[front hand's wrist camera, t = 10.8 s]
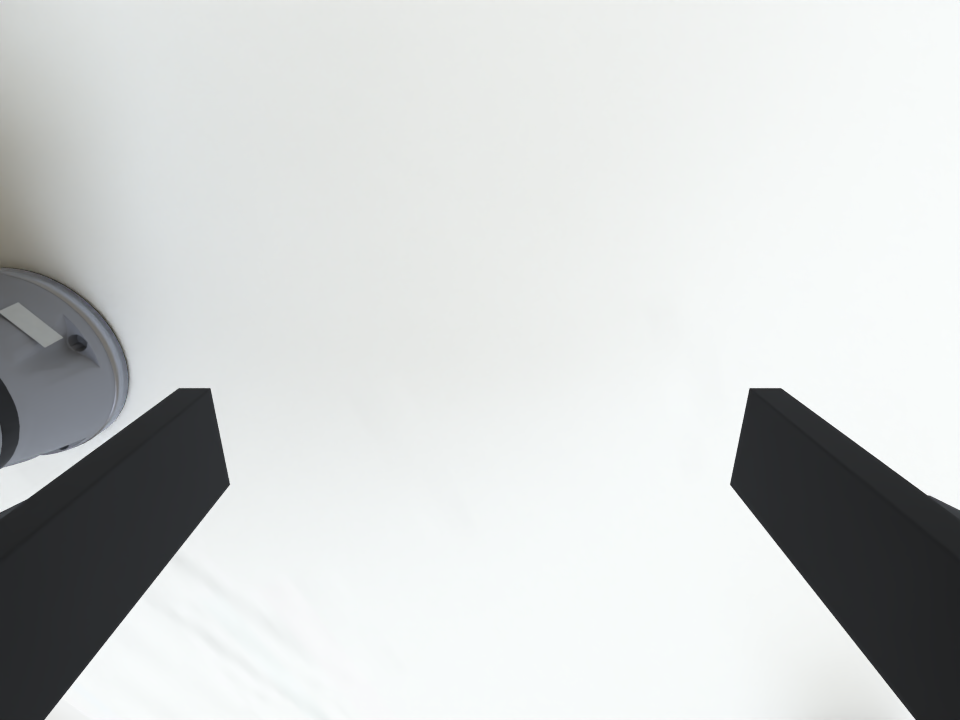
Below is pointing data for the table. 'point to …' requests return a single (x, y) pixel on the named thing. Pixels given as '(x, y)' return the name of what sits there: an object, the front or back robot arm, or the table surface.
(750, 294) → the table surface
